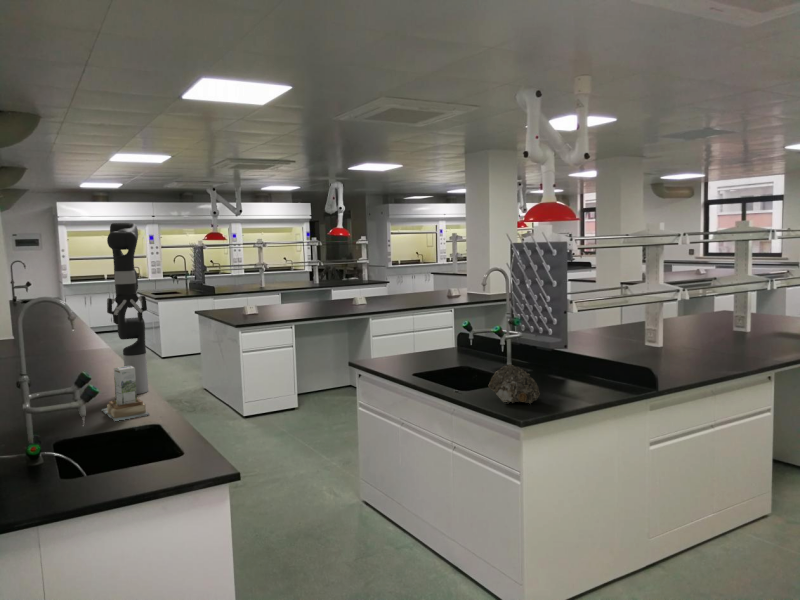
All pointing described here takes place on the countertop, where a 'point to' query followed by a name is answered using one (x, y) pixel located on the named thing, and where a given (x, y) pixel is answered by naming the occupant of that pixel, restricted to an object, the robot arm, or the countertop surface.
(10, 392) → the countertop surface
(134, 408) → the build plinth
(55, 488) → the countertop surface
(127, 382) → the syrup box
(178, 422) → the countertop surface
